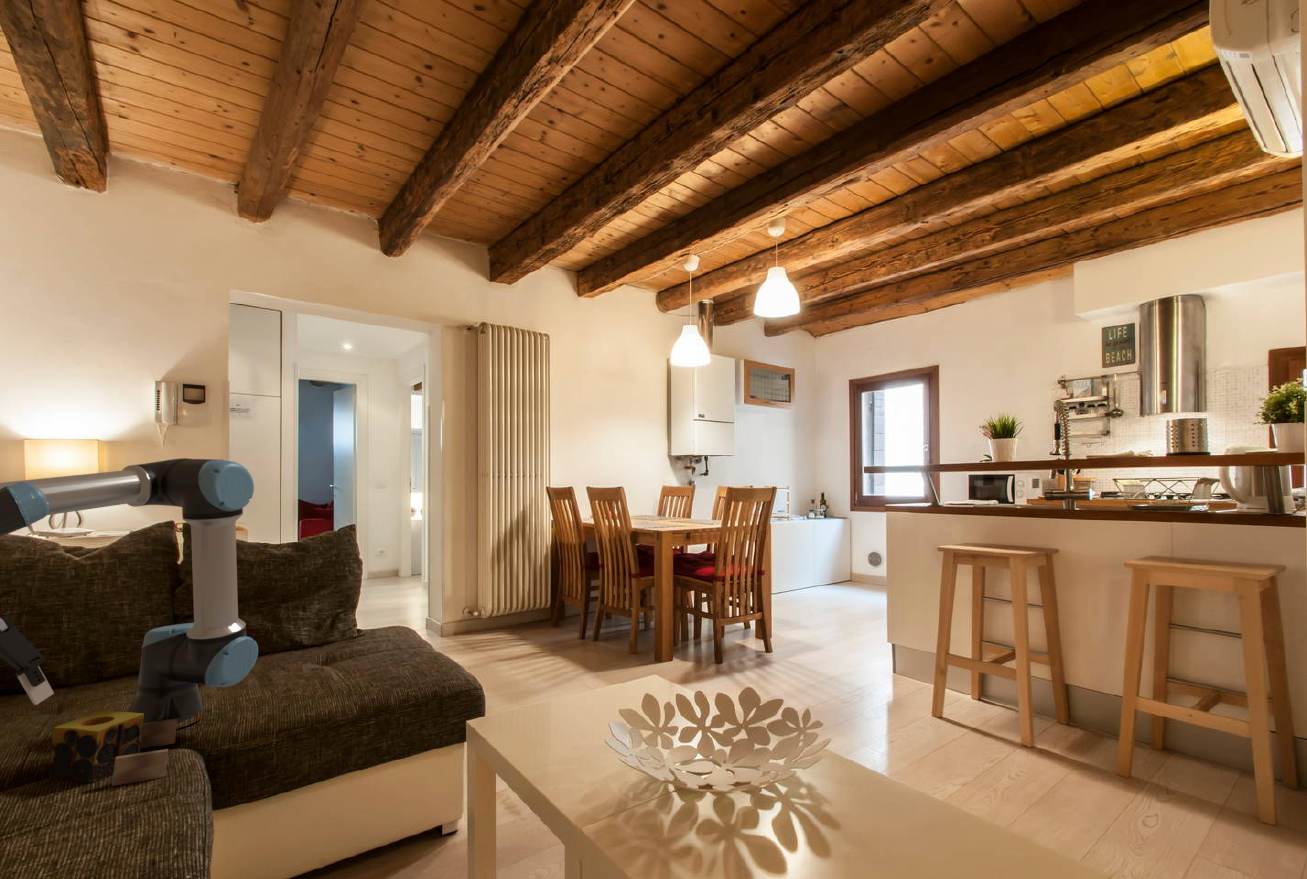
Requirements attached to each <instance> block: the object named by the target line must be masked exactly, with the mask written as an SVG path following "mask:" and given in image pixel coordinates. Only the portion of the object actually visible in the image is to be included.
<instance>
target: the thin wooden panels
mask: <svg viewBox="0 0 1307 879" xmlns="http://www.w3.org/2000/svg"><path fill="white" fill-rule="evenodd" d="M176 726H177V719H171V720H163V721H155V722H148V723H142V727H141V730H140V738H141V743H142V745H141V749H144V748H145V749H146V748H152V747H159V746H160V747H161V746H165V745H173V744H175V742H176V732H177V730H176ZM168 755H169V748H165V749H159V750H151V751H146V752H140V753H137V754H131V755H124V756H117V757H116V759H115V766H114V774H112V784H111V786H112V787H114V786H118V785H119V786H120V785H126V784H132V783H138V782H143V781H150V780H155V779H161V778H165V776H166V773H167V772H166V770H167V765H168V764H167V763H168Z"/></svg>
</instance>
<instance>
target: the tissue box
mask: <svg viewBox="0 0 1307 879" xmlns="http://www.w3.org/2000/svg"><path fill="white" fill-rule="evenodd" d="M143 718H144V713H131V712H129V711H128V712H127V711H119V710H118V711H115V710H99V711H95V712H93V713H89V714H87V715H84V716H81V717H79V718H77V719H76V718H75V719H73V720H70V721H68V722H66V723H62V724H59V725H57V726H55V727H54V728H53V733H52V743H51V744H52V747H51V748H52V750H51V761H50V763H49V768H48V769H49V772H48V775H47V776H48V778H49V779H53V780H62V781H63V780H64V781H72V782H81V781H82V783H96V782H99V781H100V779H101V780H103V779H104V778H107V777H110V776H113V774H114V766H115V759H116V757H117V756H124V755H131V754H137V753H142V751H141V749H142V748H141V745H142V743H141V738H140V730H141V727H142V722H143ZM102 778H103V779H102ZM98 780H99V781H98Z"/></svg>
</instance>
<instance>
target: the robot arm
mask: <svg viewBox="0 0 1307 879" xmlns="http://www.w3.org/2000/svg"><path fill="white" fill-rule="evenodd" d="M254 492H255V485H254V480H253V477H252V474H251V473H250V471H249V470H248V469H247V468H246V467H245V466H243V465H242V464H241V463H238V462H237V461H232V460H225V459H221V458H220V459H217V458H216V459H215V458H214V459H213V458H212V459H211V458H186V457H184V458H173V459H167V460H166V459H165V460H160V461H154V462H148V463H140V464H131V465H127V466H125V467H124V468H123V469H121V470H116V471H104V472H103V471H102V472H96V473H95V472H94V473H93V472H92V473H86V474H85V473H84V474H83V473H82V474H75V475H65V476H56V477H44V478H43V477H42V478H35V479H24V480H14V481H5V482H0V538H2V537H3V536H6V535H8V534H11V533H14V532H16V531H18V530H21V529H23V528H27V527H30V525H32V524H34V523H37V522H38V521H41V520H43V519H45V517H47V516H51V515H57V514H58V515H59V514H65V513H72V512H79V511H86V510H93V509H100V508H106V507H114V506H120V505H126V504H127V505H128V506H131V507H132V508H133V507H134V508H135V507H136V508H137V507H143V506H167V507H168V506H169V507H177V508H178V507H179V508H182V509H181V511H182V520H183V521H184V522H185V523H187V524H188V525H190V531H191V532H190V533H191V539H190V540H191V563H192V595H193V596H192V597H193V622H188V623H178V624H171V625H165V626H161V627H157V628H152V629H150V630H148V631H147V632H146V633H145V635H144V638H143V643H142V646H141V655H140V666H139V673H138V674H139V675H138V684H137V685H138V686H137V692H136V695H135V697H134V700H133V701H132V703H131V705H130V708H129V709H128V712H131V713H144V718H143V722H142V723H148V722H155V721H163V720H171V719H177V724H179V723H181V722H183V721H185V720H187V719H190V718H192V717H193V716H195V715H196V714H197V713H200V711H201V710H202V709H203V707H204V705H203V703H202V698H201V693H200V689H199V685H203V686H208V687H210V688H217V687H218V688H227V687H228V688H229V687H232V686H234V685H236V684H238V683H240V682H241V681H243V680H244V679H245V678H246V677H247V676H248V675H249V673H250V671H251V670H252V669H253V668H254V666H255V664H256V661H257V659H258V655H259V646H258V643H257V641H256V640H254V639H253V638H252V637H251V636H247V626H246V625H247V624H246V622H245V621H244V620H242V619H240V618H239V603H238V600H239V599H238V596H239V594H238V567H237V565H238V564H237V562H238V561H237V528H236V525H237V524H236V522H237V520H238V519H239V518H241V517H242V516H243V514H244V510H243V508H245V507H246V506H247V505H248V504H249V503H250V500H251V499H252V498H253V495H254ZM0 658H1V659H2V660H3V661H5V662H6V663H7V664H9V665H10V666H11V668H14V669H15V670H16V671H15V673H14V676H15V678H17V679H18V680H19V682H20V684H21V686H22V687H23V689H24V691H25V692H26V694H27V696H28V697H29V699H30V702H31V703H32V704H33V705H34V706H35V705H36V706H37V705H39V704H41V702H43V701H45V700H46V699H48V698H49V697H51V696H53V695H54V694H55V692H54V690H53V689H52V686H51V685H50V683H49V682H48V679H47V678H46V676H45V674H44V672H43V670H42V669H41V667H40V666H39V665H41V664H43V663H44V662H46V658H45V657H44V655H43V654H42V653H41V652H40V651H39V650H38V649H37V648H36V647H35V646H34V645H33V644H32V643H31V642H30V641H29V640H28V639H27V638H26V637H25V636H24V634H22V633H21V632H20V631H19V629H17V627H16V626H15V625H14V623H13V622H12V621H11V619H10V617H9V616H7V615H5V614H4V615H3V616H1V617H0Z"/></svg>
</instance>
